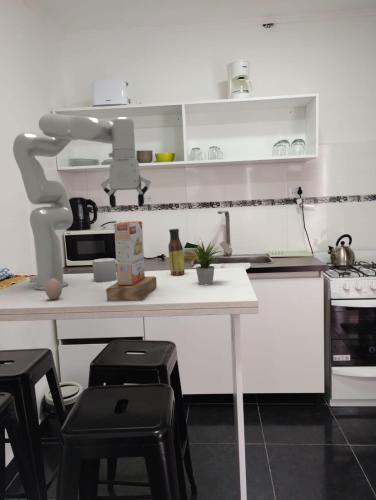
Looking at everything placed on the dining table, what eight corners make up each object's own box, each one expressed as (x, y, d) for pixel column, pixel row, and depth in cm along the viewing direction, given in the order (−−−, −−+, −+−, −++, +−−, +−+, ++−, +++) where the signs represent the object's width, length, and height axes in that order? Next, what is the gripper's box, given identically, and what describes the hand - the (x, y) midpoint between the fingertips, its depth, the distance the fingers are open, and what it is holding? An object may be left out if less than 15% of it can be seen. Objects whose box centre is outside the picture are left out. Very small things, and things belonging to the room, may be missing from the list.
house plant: (219, 288, 146) (217, 242, 144) (182, 287, 151) (180, 243, 149) (228, 280, 159) (227, 238, 158) (194, 280, 164) (192, 239, 162)
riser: (107, 301, 135) (106, 288, 135) (125, 287, 155) (124, 276, 154) (142, 300, 133) (141, 287, 133) (156, 287, 153) (156, 276, 153)
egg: (43, 300, 141) (41, 279, 140) (55, 297, 145) (54, 276, 144) (53, 302, 138) (51, 280, 137) (65, 298, 142) (64, 277, 141)
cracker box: (134, 285, 136) (130, 222, 134) (117, 286, 138) (112, 223, 135) (146, 277, 150) (142, 220, 148) (130, 278, 151) (126, 221, 149)
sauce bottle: (187, 273, 179) (185, 228, 177) (179, 276, 174) (177, 229, 171) (175, 272, 182) (172, 228, 180) (167, 275, 177) (164, 229, 175)
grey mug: (107, 275, 183) (106, 256, 182) (119, 280, 172) (118, 259, 171) (88, 278, 178) (86, 259, 177) (99, 283, 167) (97, 262, 166)
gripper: (95, 156, 136) (98, 208, 138) (146, 153, 134) (148, 206, 136) (103, 158, 144) (106, 207, 146) (151, 155, 141) (154, 205, 143)
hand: (127, 207), depth 141 cm, fingers open, 9 cm apart
